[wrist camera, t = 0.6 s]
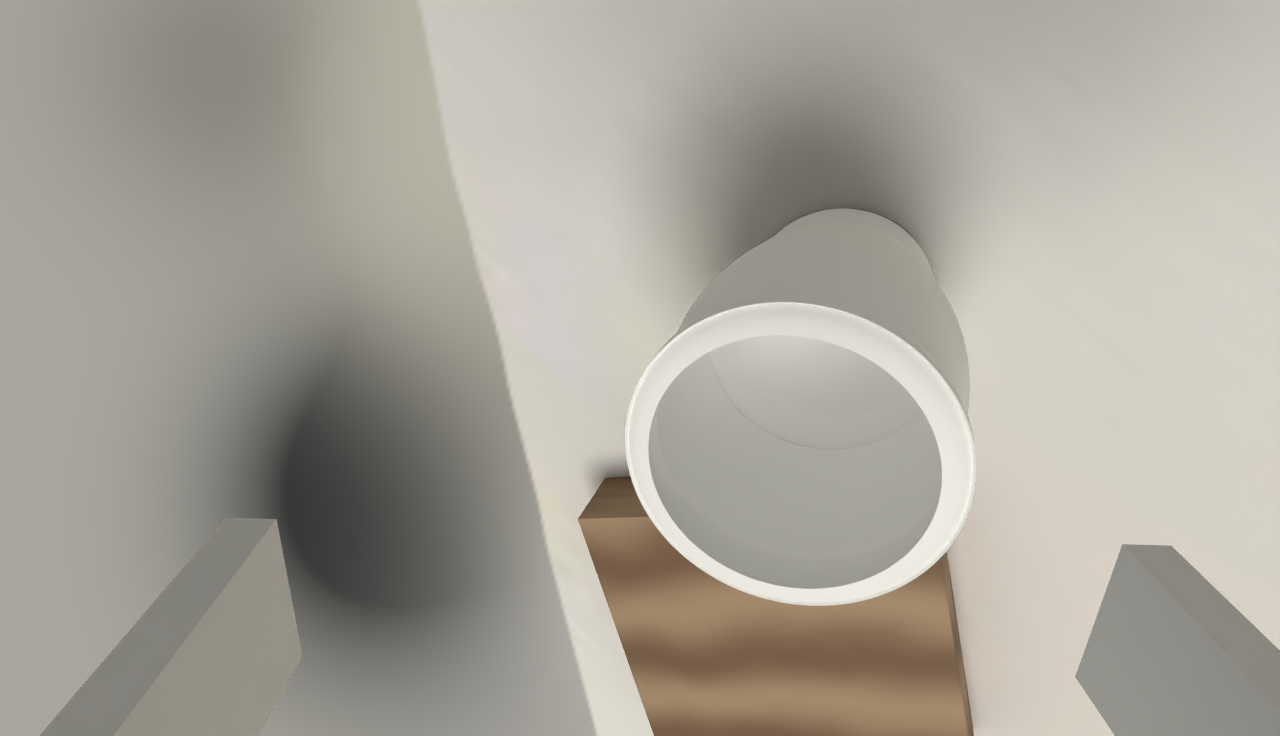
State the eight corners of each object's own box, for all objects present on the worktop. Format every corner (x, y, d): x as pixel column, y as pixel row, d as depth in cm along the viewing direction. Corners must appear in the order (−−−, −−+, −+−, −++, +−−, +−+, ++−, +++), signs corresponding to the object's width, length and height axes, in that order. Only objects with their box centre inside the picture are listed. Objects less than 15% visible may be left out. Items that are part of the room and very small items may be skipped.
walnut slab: (605, 478, 44) (577, 519, 41) (932, 460, 37) (932, 507, 34) (680, 707, 51) (662, 759, 47) (973, 730, 43) (976, 793, 40)
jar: (783, 144, 33) (690, 241, 20) (1010, 242, 32) (1062, 411, 19) (697, 342, 38) (582, 515, 26) (887, 433, 37) (864, 662, 24)
